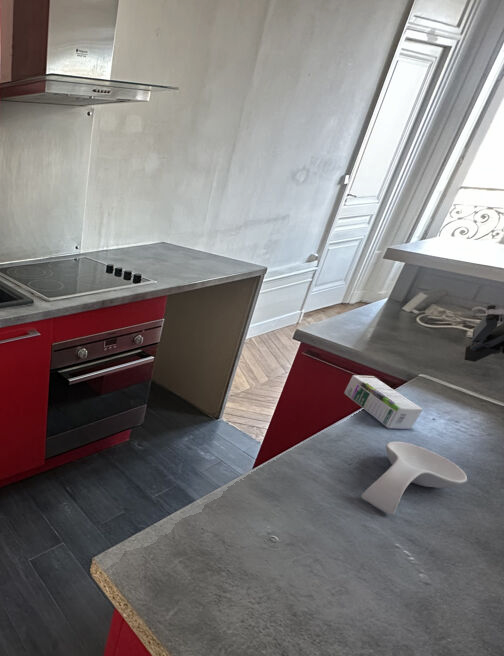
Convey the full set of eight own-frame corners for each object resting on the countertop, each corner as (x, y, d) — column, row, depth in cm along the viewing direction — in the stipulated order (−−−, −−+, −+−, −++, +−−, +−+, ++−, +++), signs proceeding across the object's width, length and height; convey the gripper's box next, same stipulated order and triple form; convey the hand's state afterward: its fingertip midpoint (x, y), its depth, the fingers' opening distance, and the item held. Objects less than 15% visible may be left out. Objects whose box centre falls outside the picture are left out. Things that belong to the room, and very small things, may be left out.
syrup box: (387, 428, 94) (341, 393, 107) (412, 429, 94) (363, 393, 107) (399, 408, 92) (350, 374, 105) (425, 409, 92) (373, 375, 105)
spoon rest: (391, 447, 88) (408, 420, 85) (465, 484, 79) (487, 456, 76) (339, 487, 77) (355, 458, 74) (418, 535, 68) (441, 504, 65)
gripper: (519, 312, 61) (424, 362, 82) (652, 334, 56) (514, 382, 77) (523, 269, 63) (429, 329, 84) (652, 286, 58) (517, 345, 78)
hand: (470, 354), depth 80 cm, fingers closed
